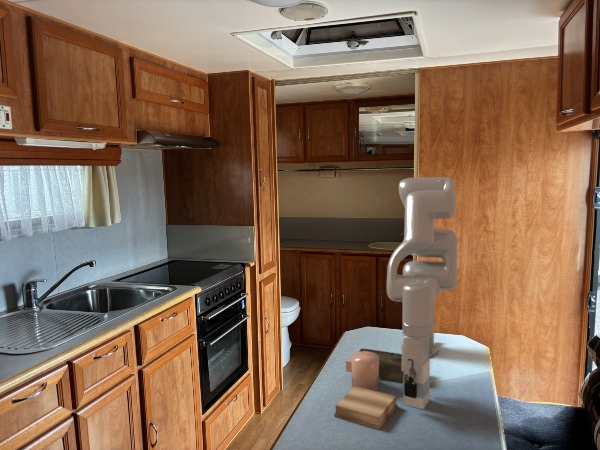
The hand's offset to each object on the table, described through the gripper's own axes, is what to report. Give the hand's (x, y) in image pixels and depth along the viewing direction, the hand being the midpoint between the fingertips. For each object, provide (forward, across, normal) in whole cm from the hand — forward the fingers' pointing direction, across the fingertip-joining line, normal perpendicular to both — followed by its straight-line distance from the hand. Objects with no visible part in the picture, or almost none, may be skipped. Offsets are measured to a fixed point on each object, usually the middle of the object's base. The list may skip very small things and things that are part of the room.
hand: (416, 388), depth 129 cm
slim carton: (+4, 0, 0) cm, 4 cm away
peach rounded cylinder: (+4, -2, -17) cm, 18 cm away
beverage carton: (+4, -12, -13) cm, 18 cm away
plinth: (+4, +11, -10) cm, 15 cm away
